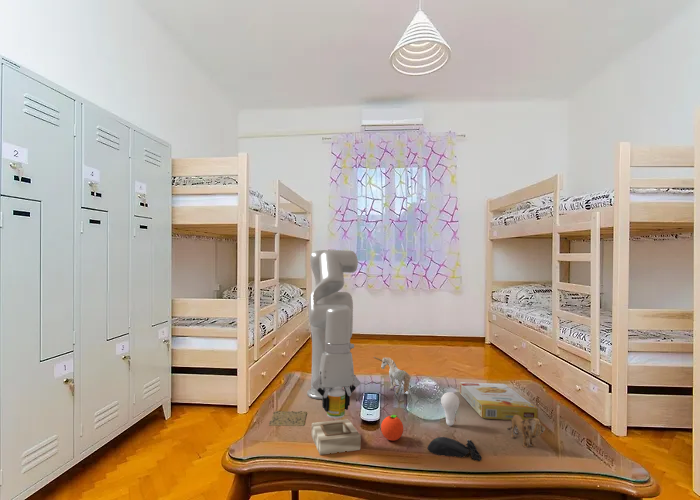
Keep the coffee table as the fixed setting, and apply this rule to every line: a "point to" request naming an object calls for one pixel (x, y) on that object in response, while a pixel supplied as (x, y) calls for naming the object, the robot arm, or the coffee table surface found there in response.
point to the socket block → (335, 436)
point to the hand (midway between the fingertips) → (335, 408)
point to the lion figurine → (526, 428)
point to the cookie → (288, 418)
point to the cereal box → (497, 401)
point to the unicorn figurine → (396, 374)
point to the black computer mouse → (453, 448)
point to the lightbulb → (450, 406)
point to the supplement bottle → (336, 402)
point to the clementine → (392, 428)
